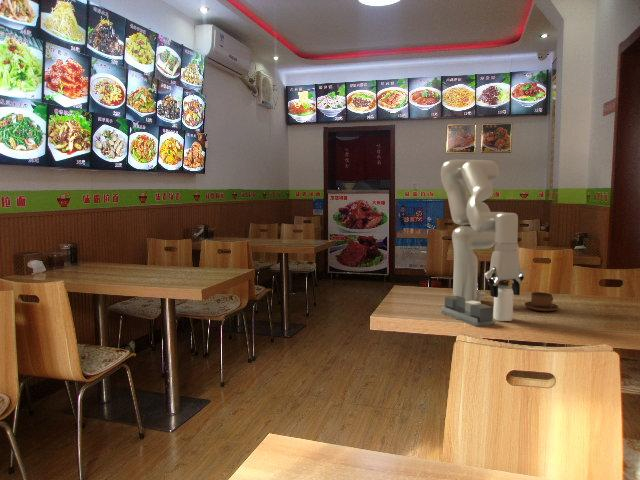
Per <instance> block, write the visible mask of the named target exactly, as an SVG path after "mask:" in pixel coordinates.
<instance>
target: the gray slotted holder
mask: <svg viewBox="0 0 640 480" xmlns="http://www.w3.org/2000/svg"><path fill="white" fill-rule="evenodd" d="M440 311H441V312H440V313H441V314H442V313H443V315H445V314H446V315H445V316H447V315H448V317H450V316H451V317H450V318H452V317H453V318H452V319H455V318H456V319H455V320H458V321H460V320H461V322H463V321H464V322H463V323H465V322H466V323H465V324H467V325H468V324H469V325H471V326H474V327H476V328H478V327H484V326H491V325H492V324H494V325H495V324H496V320H494V318H493V311H494V306H490V305H489V304H485V303H481V304H479V305H471V307H470V312H468V311H465V298H463V297H460V296H453V295H450V296H448V295H447V296H444V305H442V306H441V309H440Z"/></svg>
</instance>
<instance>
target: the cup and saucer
mask: <svg viewBox="0 0 640 480" xmlns="http://www.w3.org/2000/svg"><path fill="white" fill-rule="evenodd" d="M530 296H531V297H530V298H531V299H530V301H527V302H524V306H525V307H526V308H527V309H530V310H533V311H537V312H552V311H553V312H554V311H555V310H558V308H559V306H558V305H557V304H555V303H553V300H554V297H553V294H551V293H548V292H541V291H535V292H531V295H530Z"/></svg>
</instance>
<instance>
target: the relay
mask: <svg viewBox="0 0 640 480" xmlns="http://www.w3.org/2000/svg"><path fill="white" fill-rule="evenodd" d="M479 304H482V302H481V301H480V302H478V301H473V300H472V301H467V302H465V311H468V312H470V307H471V305H479Z"/></svg>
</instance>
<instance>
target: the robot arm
mask: <svg viewBox="0 0 640 480" xmlns="http://www.w3.org/2000/svg"><path fill="white" fill-rule="evenodd" d="M499 175H500V169H499V166H498V164H497V163H496V162H495V161H493V160H490V159H489V160H487V159H486V160H485V159H460V158H459V159H458V158H457V159H450V160H447V161H445V162H444V163H443V164H442V166H441V169H440V181H441V184H442V186H443V189H444V191H445V193H446V196H447V200H448V206H449V211H450V216H451V220H452V221H453V223H454V224H457V225H461V226H458V227H456V228H454V229H453V231H452V233H451V241H452V242H451V243H452V246H453V247H452V249H453V276H452V277H453V278H452V281H453V283H452V296H460V297H463V298H465V302H467V301H472V300H473V301H478V302H481V299H480V297H481V298H482V297H487V292H486V291H481V292H480V291H479V290H478V274H479V273H478V270H479V269H478V268H479V262H478V257H477V255H476V254H475V252H474V250H483V249H491V248H492V247H494V251H492V254H491V258H490V266H489V270H488V271H486V272H485V273H484V276H485V279H486V282H488V285H489V287H490V291H489V292H490V293H489V295H490V297H493V298H494V297H498V284H499V282H500V281H510V280H511V281H512V283H511V287H512V290H513V296H515V295H516V296H520V295H521V294H520V291H521V290H520V289H521V284H522V281H523V280H524V279H525V275H526V270H525V269H522V268H521V261H520V254H519V251H518V248H519V247H520V246H519V244H518V233H519V232H518V231H519V230H518V229H519V225H518V224H519V216H518V214H517V213H515V212H504V211H491V208H489V205H487V203H485V202H484V201H485V200H487V199H489V198H490V197H491V196H492V195H493V193H494V188H493V184H492V183H491V182H495V181H496V180H497V179H498V178H499ZM461 181H464V182H465V184H466V186H464V184H463V183H462V182H461ZM466 187H467V188H466ZM469 194H470V197H469Z"/></svg>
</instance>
